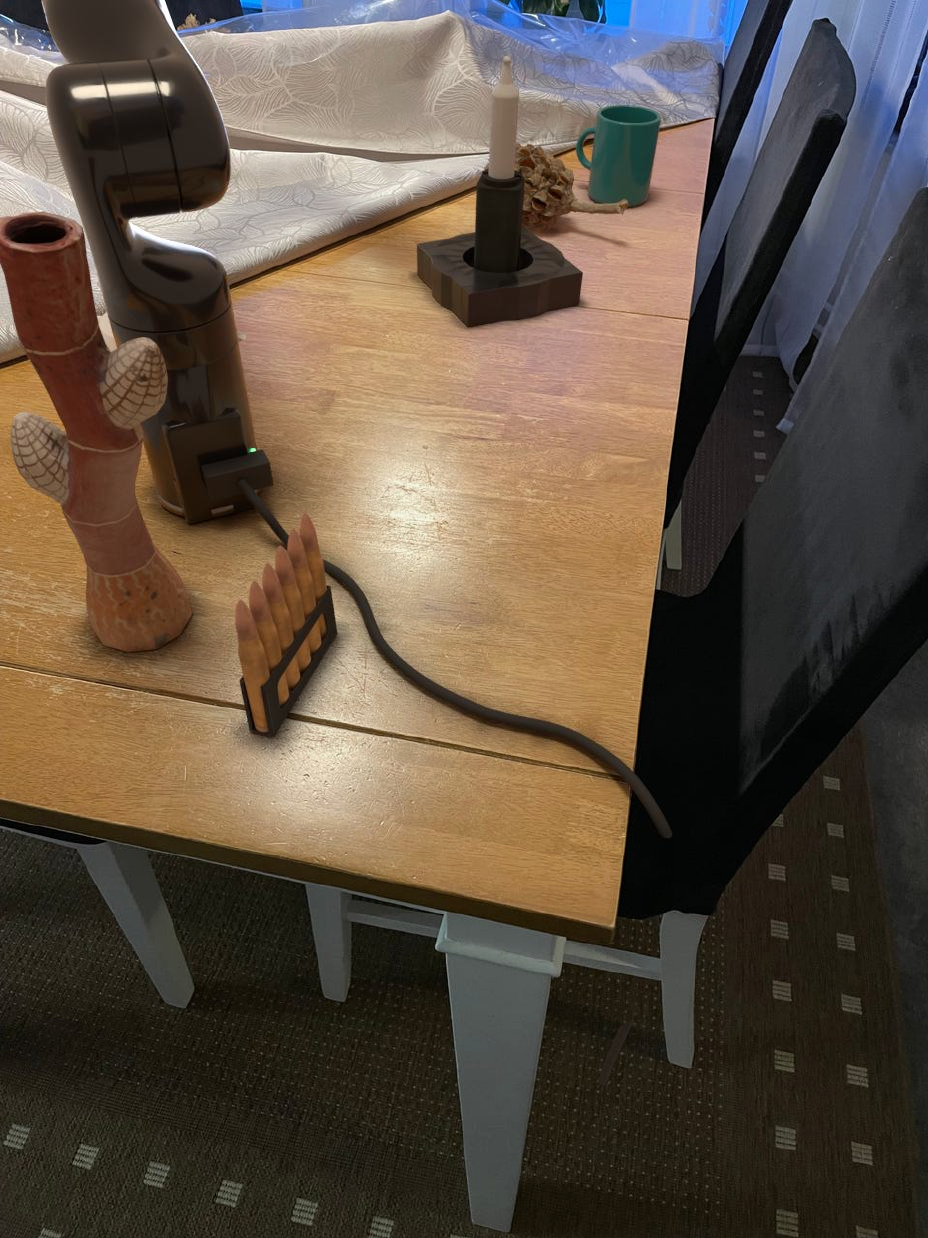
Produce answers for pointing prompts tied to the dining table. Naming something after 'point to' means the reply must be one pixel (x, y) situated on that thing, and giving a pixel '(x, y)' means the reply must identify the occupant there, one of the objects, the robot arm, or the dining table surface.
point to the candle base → (498, 280)
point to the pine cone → (551, 189)
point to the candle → (500, 186)
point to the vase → (90, 430)
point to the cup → (621, 153)
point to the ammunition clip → (284, 630)
